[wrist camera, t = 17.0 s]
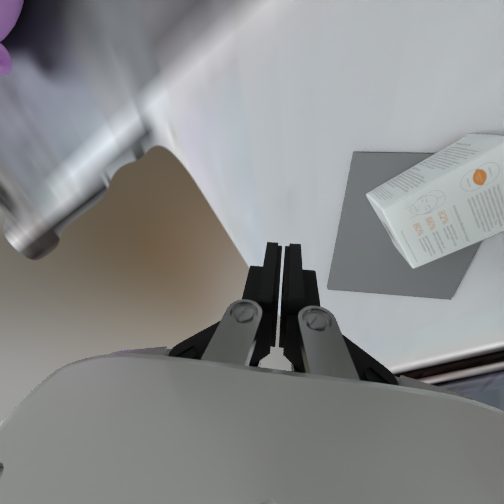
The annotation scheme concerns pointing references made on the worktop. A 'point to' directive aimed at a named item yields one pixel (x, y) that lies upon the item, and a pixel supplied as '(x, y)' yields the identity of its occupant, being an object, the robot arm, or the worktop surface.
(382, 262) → the mat
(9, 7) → the teapot
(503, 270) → the worktop surface
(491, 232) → the small box
